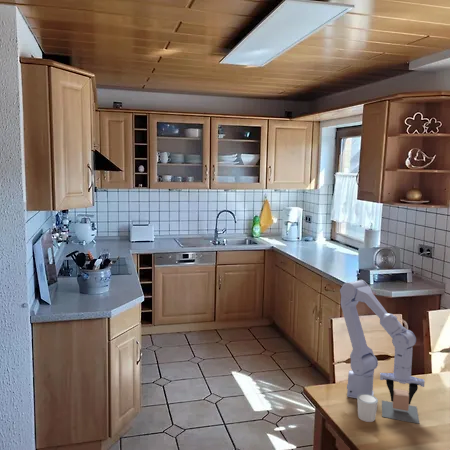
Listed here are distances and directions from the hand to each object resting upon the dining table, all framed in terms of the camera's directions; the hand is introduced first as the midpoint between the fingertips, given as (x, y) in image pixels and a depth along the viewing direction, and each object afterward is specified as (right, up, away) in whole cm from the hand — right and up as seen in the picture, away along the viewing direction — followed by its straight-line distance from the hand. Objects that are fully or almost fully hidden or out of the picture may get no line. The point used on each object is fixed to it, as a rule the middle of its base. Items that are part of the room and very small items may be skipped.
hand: (400, 401), depth 154 cm
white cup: (-13, -4, -4) cm, 15 cm away
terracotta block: (0, -2, 0) cm, 2 cm away
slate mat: (0, -4, 0) cm, 4 cm away
